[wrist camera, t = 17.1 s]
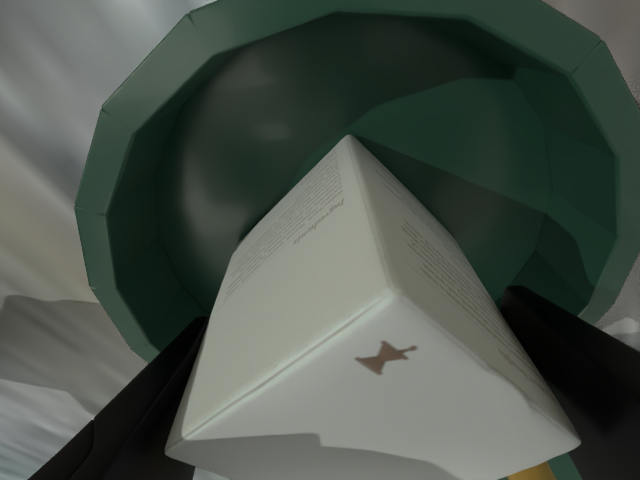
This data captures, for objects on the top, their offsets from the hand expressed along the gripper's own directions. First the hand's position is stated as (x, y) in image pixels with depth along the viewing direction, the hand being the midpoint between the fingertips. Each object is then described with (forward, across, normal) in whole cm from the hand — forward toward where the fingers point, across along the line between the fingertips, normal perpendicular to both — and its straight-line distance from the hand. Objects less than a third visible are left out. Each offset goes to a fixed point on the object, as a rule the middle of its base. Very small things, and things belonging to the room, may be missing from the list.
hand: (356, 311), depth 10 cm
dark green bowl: (+4, 0, 0) cm, 4 cm away
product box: (+4, 0, 0) cm, 4 cm away
